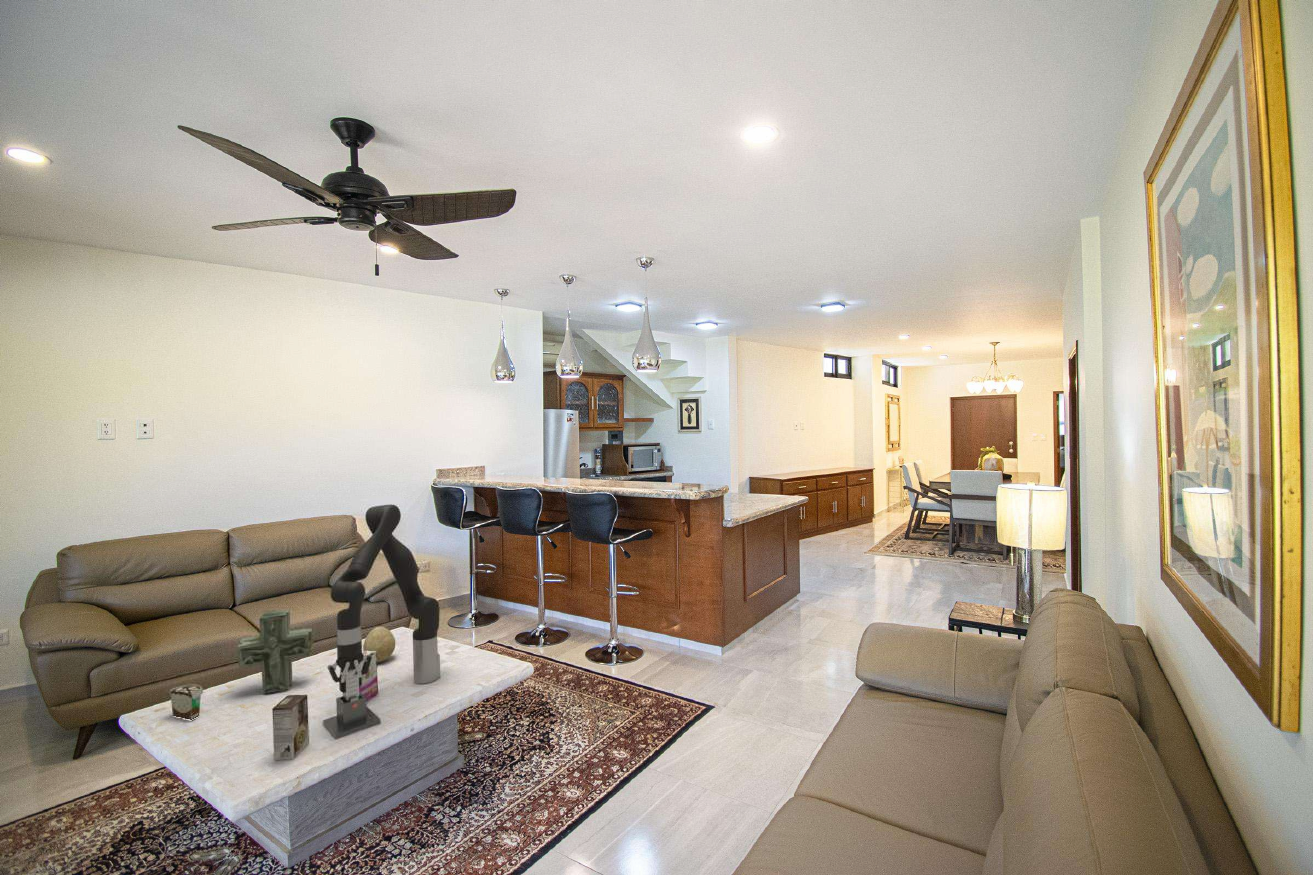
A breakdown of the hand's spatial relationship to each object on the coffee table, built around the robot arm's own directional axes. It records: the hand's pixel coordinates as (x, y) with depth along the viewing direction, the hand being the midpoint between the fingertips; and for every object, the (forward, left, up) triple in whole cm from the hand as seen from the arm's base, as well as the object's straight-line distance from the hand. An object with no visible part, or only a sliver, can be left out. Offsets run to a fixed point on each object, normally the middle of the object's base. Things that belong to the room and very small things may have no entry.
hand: (350, 689), depth 200 cm
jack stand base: (0, 0, -12) cm, 12 cm away
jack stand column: (0, 0, -10) cm, 10 cm away
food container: (+38, -50, -12) cm, 64 cm away
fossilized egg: (-27, -51, -12) cm, 59 cm away
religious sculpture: (+11, -52, -12) cm, 54 cm away
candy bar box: (-9, -17, -12) cm, 23 cm away
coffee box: (+19, +5, -12) cm, 23 cm away
